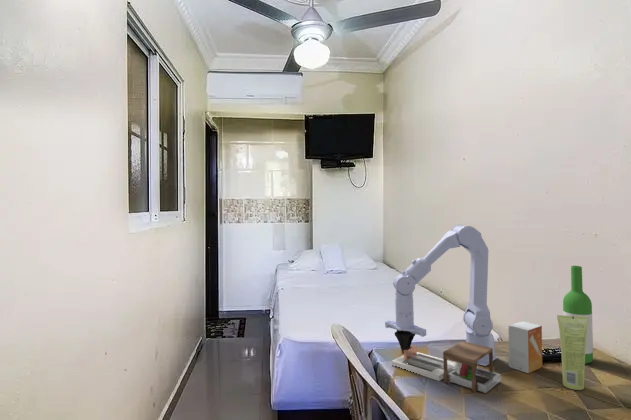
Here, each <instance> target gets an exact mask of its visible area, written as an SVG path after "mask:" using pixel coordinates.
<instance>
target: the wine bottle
mask: <svg viewBox="0 0 631 420" xmlns="http://www.w3.org/2000/svg"><path fill="white" fill-rule="evenodd" d="M592 304H593V303H592V300H591V298H590V296H588V295H587V293H585V292H584V289H583V267H582V266H581V265H571V266H570V291H569V292H567V293H566V294H565V295H564V297H563V300H562V315H565V316H582V317H588V325H587V334H586V348H585V365H586V364H591V363H592V362H593V359H594V338H593V336H594V334H593V305H592Z"/></svg>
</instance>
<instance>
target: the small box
mask: <svg viewBox="0 0 631 420" xmlns="http://www.w3.org/2000/svg"><path fill="white" fill-rule="evenodd" d="M542 329H543V326H542V325H540V324H537V323H532V322H528V321H523V320H522V321H519V322H515V323H512V324H509V325H508V367H509V368H511V369H514V370H517V371H520V372H523V373H526V374H530V373H532V372H535V371H536V370H540V369H541V367H542V368H543V331H542Z"/></svg>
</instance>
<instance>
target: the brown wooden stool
mask: <svg viewBox="0 0 631 420" xmlns="http://www.w3.org/2000/svg"><path fill="white" fill-rule="evenodd" d="M442 354H443V356H442V357H443V358H442V359H443V362H444V378H443V383H444V384H448V383H449V381H448V372H447V360H448V361H451V362H455V363H456V362H459V363H461V365H462V364H466V365H469V366H472V390H471V392H472V393H474V394H475V393H476V392H477V390H476V382H477V378H476V376H477V375H476V364H475V362H477V361H478V360H480V359H481V358H483V357H484V356H486V355H487V354H489V364H488V367H489V368H488V369H489V370H488V371H491V372H494V361H493V348H489V347H485V346H481V345H477V344H472V343H468V342H466V341H463V340H462V341H461V342H458V343H457V344H455V345H454V346H452V347H449V348H448V349H446V350H444V351H443V352H442Z"/></svg>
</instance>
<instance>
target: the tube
mask: <svg viewBox="0 0 631 420" xmlns="http://www.w3.org/2000/svg"><path fill="white" fill-rule="evenodd" d="M556 318H557V323H558V329H559V330H558V331H559V339H560V352H561V370H562V372H561V373H562V385H563V386H564V387H565V388H568V389H570V390H573V391H574V390H575V391H582V390H584V389H585V369H586V368H585V366H586V364H585V348H586V334H587V325H588V317H582V316H565V315H563V314H557V316H556Z"/></svg>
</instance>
